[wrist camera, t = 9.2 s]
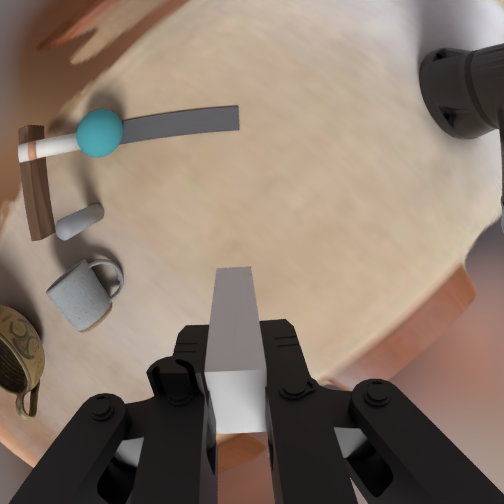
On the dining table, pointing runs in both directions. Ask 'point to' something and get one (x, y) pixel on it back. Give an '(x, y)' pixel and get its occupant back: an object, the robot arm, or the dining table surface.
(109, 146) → the ball
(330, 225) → the dining table surface
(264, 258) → the dining table surface
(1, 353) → the ceramic bowl
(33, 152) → the white pin
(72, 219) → the grey pin
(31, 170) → the backstop
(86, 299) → the ceramic mug
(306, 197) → the dining table surface
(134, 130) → the grey flat bar
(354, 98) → the dining table surface
